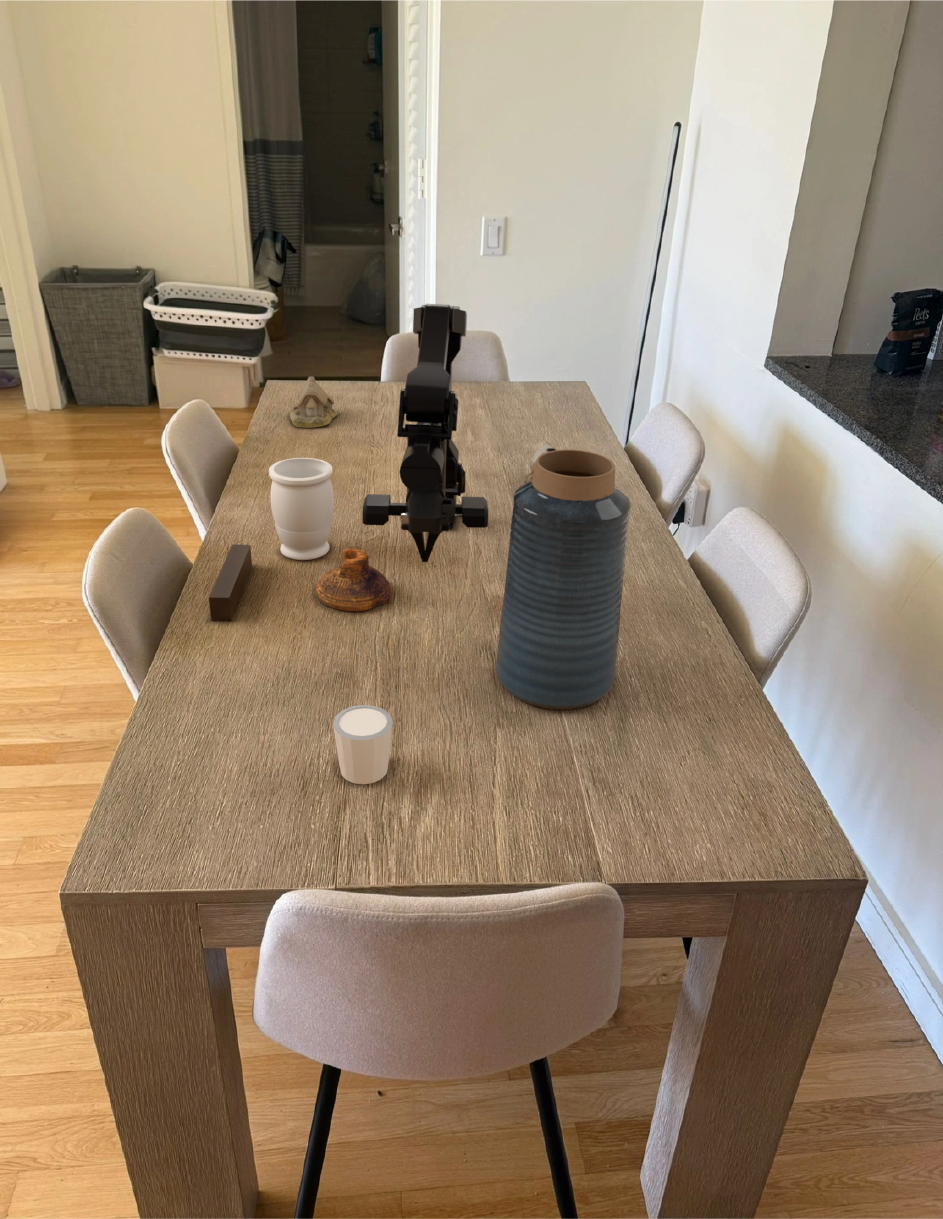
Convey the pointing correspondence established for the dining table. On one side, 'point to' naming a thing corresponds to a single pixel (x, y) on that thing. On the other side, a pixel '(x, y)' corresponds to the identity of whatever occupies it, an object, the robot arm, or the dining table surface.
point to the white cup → (363, 743)
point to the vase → (564, 582)
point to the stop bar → (230, 583)
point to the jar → (302, 506)
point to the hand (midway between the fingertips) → (425, 561)
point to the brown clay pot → (353, 584)
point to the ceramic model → (312, 406)
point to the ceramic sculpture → (542, 450)
